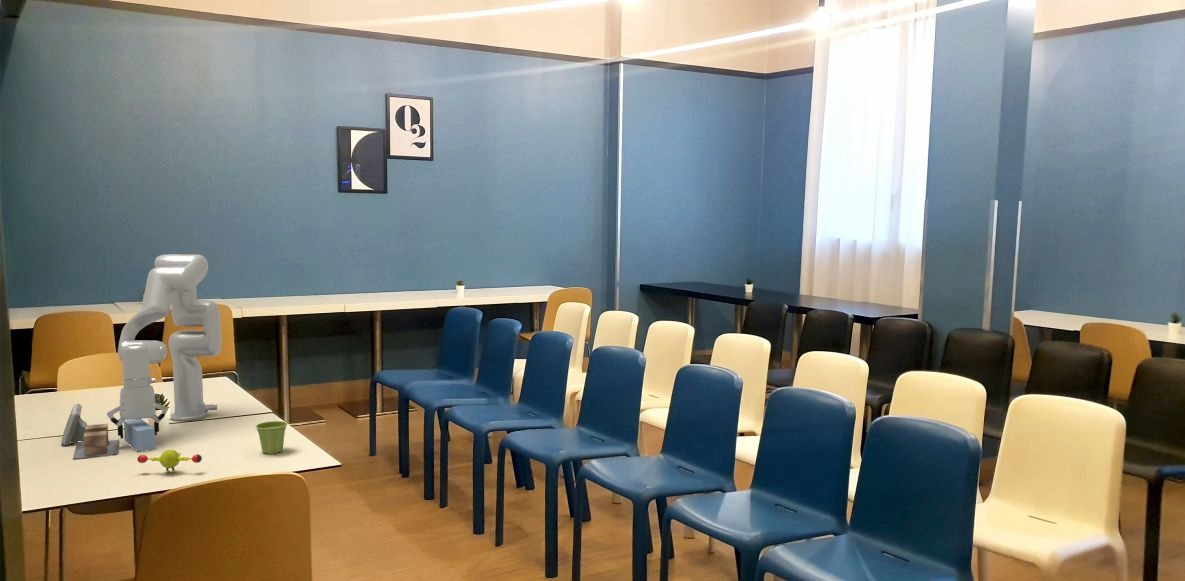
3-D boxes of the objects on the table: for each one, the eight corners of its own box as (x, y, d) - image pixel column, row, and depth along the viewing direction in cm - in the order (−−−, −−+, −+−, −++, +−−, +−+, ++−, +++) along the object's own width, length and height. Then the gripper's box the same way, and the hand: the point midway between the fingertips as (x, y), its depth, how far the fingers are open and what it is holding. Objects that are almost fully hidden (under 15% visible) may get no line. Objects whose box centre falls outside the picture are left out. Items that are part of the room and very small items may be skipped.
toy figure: (206, 469, 258) (205, 447, 258) (198, 475, 253) (197, 452, 252) (143, 470, 258) (142, 447, 257) (134, 475, 252) (133, 452, 251)
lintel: (141, 439, 291) (140, 418, 290) (155, 449, 279) (154, 428, 278) (124, 442, 288) (123, 421, 287) (138, 452, 276) (137, 430, 275)
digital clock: (65, 434, 296) (63, 403, 295) (95, 432, 299) (94, 401, 298) (51, 447, 281) (49, 414, 280) (82, 445, 283) (81, 412, 282)
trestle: (119, 440, 289) (118, 421, 288) (117, 454, 273) (116, 434, 272) (76, 445, 283) (75, 425, 283) (72, 459, 267) (71, 439, 267)
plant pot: (254, 457, 271) (254, 429, 270) (257, 448, 280) (257, 421, 279) (287, 454, 274) (286, 427, 273) (289, 446, 283) (288, 420, 282)
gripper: (166, 379, 289) (168, 430, 290) (106, 383, 281) (108, 436, 282) (167, 383, 282) (169, 435, 283) (105, 387, 274) (107, 441, 276)
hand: (138, 436), depth 283 cm, fingers open, 9 cm apart
